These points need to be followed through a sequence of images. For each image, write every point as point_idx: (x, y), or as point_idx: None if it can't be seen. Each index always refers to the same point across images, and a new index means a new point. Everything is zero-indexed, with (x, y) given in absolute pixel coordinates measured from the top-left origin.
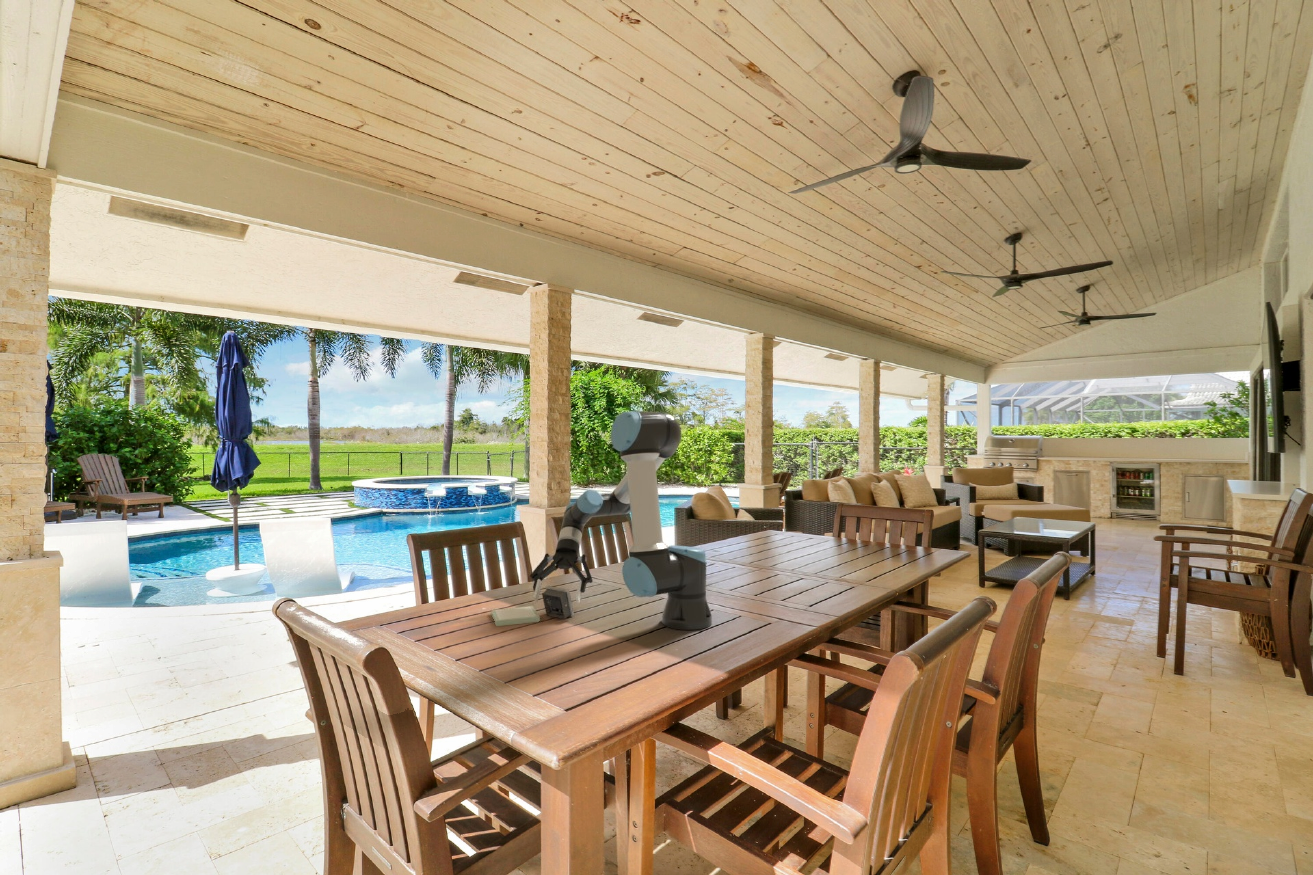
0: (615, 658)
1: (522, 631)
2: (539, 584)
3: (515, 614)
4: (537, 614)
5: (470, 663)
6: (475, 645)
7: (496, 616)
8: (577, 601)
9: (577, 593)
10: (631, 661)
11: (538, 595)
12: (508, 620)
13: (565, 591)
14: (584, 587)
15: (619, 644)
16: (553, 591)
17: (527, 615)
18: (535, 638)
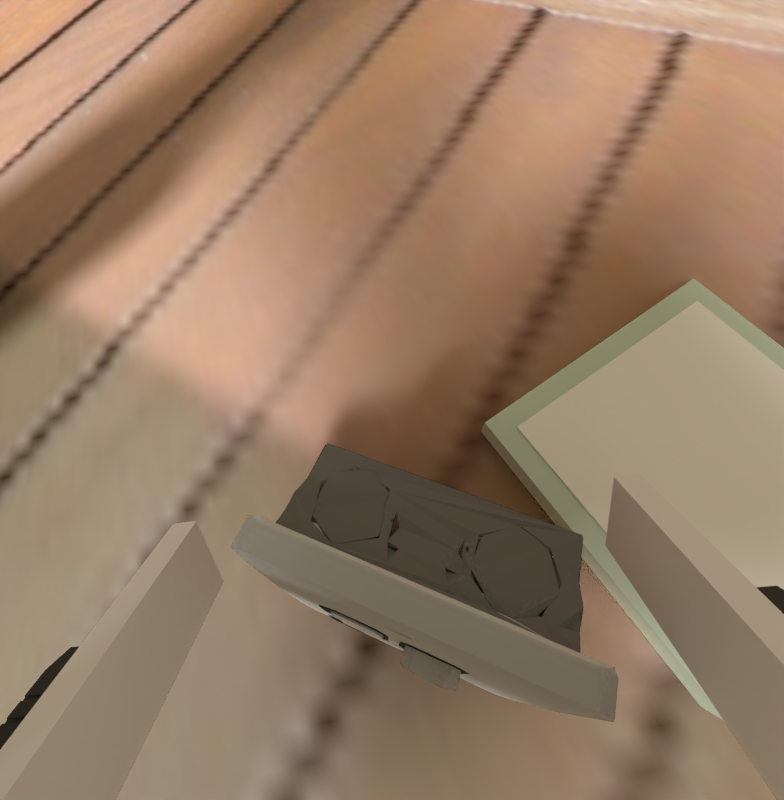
0: (65, 142)
1: (486, 266)
2: (759, 676)
3: (678, 423)
4: (527, 468)
5: (482, 8)
6: (575, 98)
7: (776, 358)
8: (207, 560)
9: (156, 569)
10: (21, 138)
11: (642, 586)
12: (638, 318)
13: (276, 526)
14: (26, 696)
15: (43, 241)
16: (452, 577)
17: (578, 420)
18: (382, 210)
